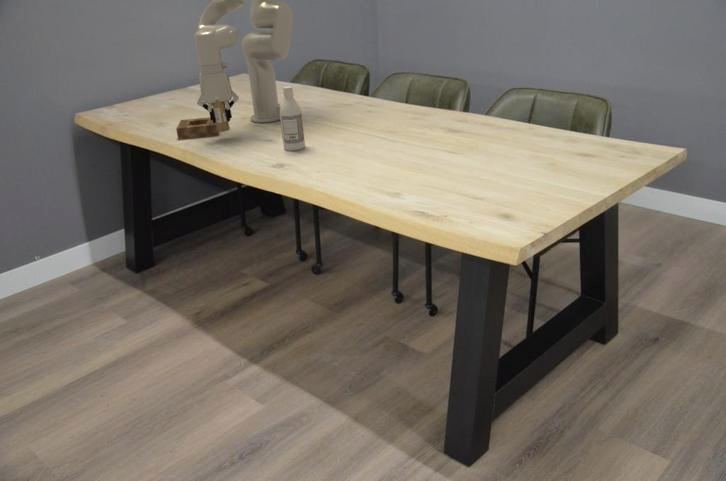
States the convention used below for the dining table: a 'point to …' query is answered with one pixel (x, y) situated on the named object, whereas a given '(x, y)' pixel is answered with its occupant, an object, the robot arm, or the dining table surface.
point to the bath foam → (291, 122)
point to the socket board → (196, 128)
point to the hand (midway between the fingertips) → (221, 120)
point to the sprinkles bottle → (220, 116)
